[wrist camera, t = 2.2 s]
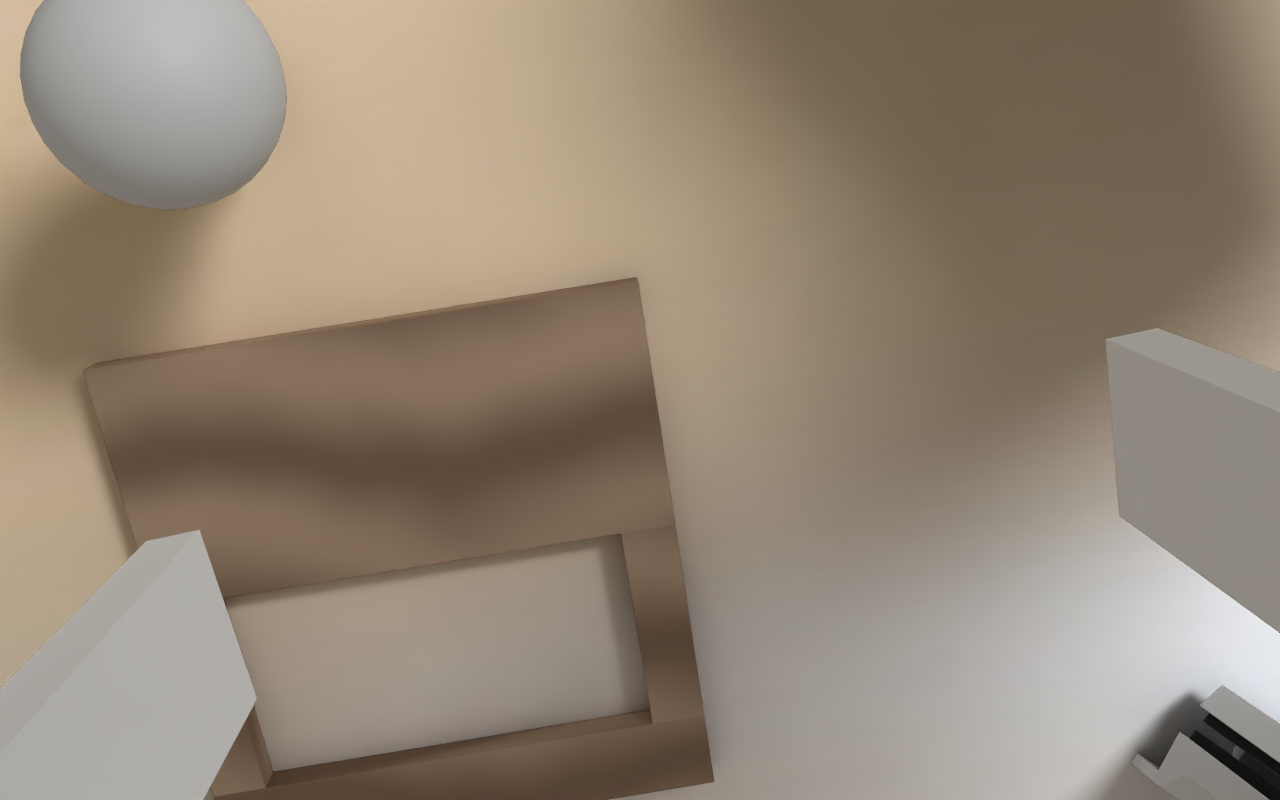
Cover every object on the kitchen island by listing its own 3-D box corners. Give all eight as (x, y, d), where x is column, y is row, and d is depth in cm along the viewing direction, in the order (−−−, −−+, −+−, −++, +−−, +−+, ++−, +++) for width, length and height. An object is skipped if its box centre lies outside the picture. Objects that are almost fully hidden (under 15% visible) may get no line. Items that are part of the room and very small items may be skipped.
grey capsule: (363, 175, 35) (271, 204, 25) (181, 197, 35) (10, 236, 24) (327, -19, 33) (212, -78, 23) (136, 4, 33) (-69, -44, 23)
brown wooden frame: (96, 363, 36) (83, 370, 35) (636, 277, 37) (638, 281, 36) (241, 844, 42) (233, 862, 41) (710, 766, 42) (714, 781, 41)
